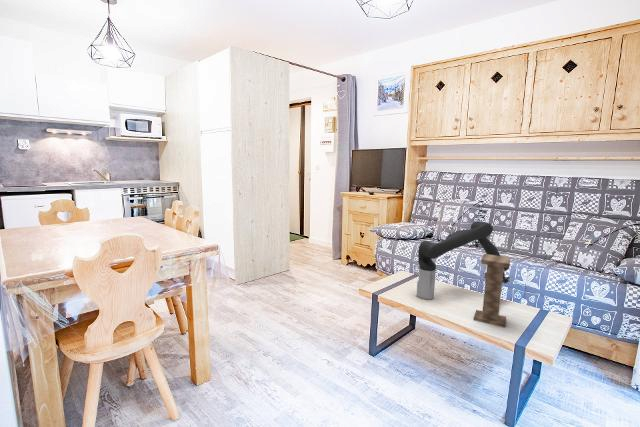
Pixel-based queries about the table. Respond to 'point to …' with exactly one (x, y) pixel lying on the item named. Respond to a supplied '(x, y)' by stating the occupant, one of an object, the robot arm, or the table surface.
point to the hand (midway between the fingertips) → (495, 281)
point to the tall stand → (493, 290)
